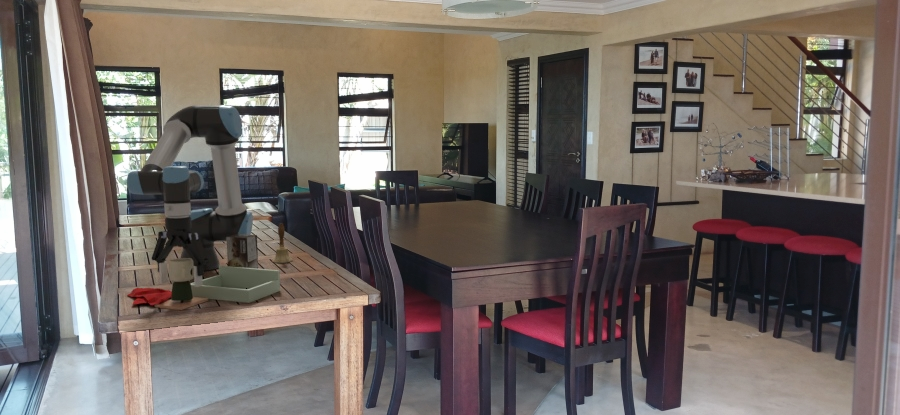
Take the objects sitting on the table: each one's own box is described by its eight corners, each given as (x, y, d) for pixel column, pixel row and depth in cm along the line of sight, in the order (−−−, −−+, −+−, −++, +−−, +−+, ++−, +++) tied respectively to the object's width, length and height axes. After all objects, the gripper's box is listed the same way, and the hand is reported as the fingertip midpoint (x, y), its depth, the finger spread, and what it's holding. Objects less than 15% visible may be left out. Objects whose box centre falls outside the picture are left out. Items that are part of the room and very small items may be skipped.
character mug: (197, 303, 207) (196, 261, 206) (172, 305, 203) (171, 263, 202) (191, 296, 216) (190, 256, 215) (167, 298, 213) (166, 258, 211)
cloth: (180, 301, 209) (180, 294, 208) (131, 308, 202) (131, 300, 202) (170, 287, 231) (169, 280, 231) (125, 292, 224) (125, 286, 224)
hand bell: (268, 262, 277) (266, 223, 275) (280, 258, 284) (279, 221, 282) (284, 263, 274) (283, 224, 272) (296, 260, 281) (295, 222, 279)
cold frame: (187, 296, 219) (186, 275, 218) (221, 285, 235) (220, 265, 234) (248, 302, 211) (248, 280, 210) (280, 290, 227) (279, 270, 226)
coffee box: (259, 278, 246) (258, 234, 245) (248, 282, 240) (247, 237, 238) (238, 276, 249) (236, 233, 247) (227, 280, 243) (225, 236, 241)
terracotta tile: (154, 307, 206) (154, 304, 206) (182, 297, 217) (182, 295, 217) (181, 309, 202) (181, 307, 202) (208, 300, 214) (208, 298, 214)
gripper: (137, 216, 207) (140, 283, 210) (202, 219, 199) (205, 290, 201) (155, 213, 214) (158, 279, 217) (219, 216, 206) (221, 284, 208)
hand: (181, 284), depth 209 cm, fingers open, 13 cm apart
